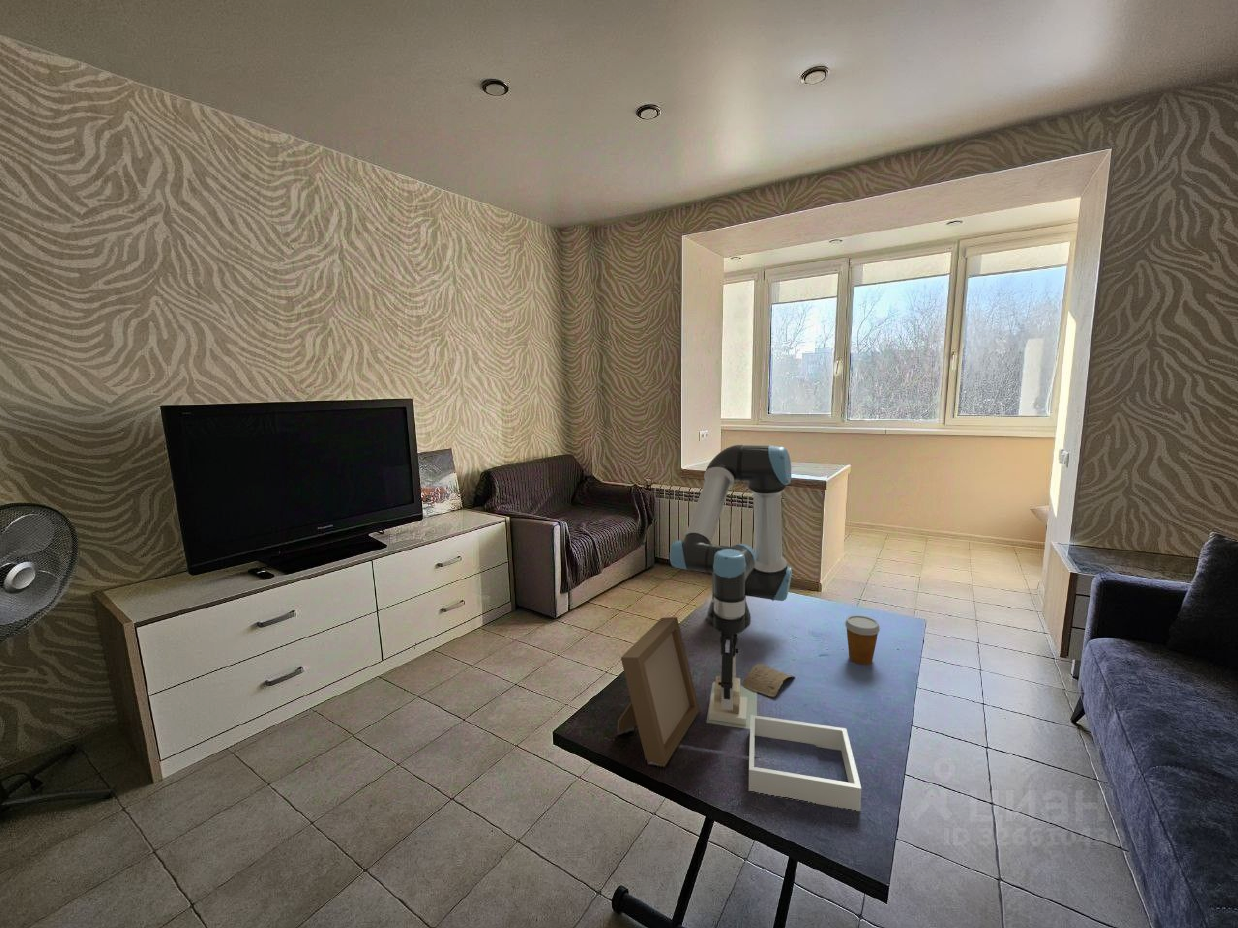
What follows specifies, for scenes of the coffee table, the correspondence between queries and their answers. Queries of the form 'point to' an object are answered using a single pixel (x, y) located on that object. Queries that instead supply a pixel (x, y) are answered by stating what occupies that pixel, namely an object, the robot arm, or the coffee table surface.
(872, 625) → the disposable coffee cup
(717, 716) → the tile
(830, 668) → the coffee table surface
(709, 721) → the mat
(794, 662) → the coffee table surface
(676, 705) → the photo frame
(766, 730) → the white open rectangular frame
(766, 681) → the clay tablet
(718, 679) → the block
